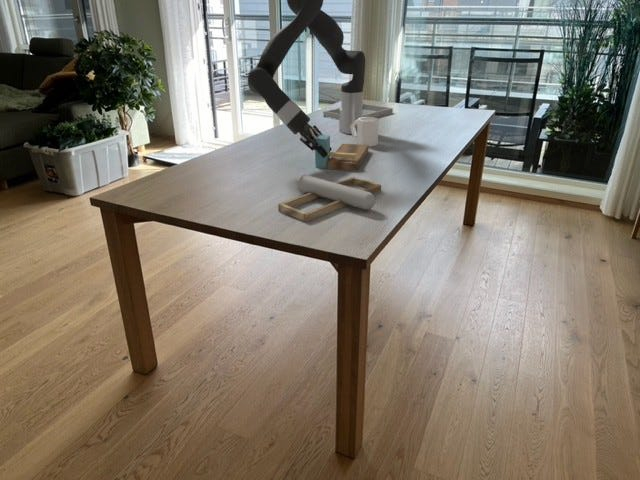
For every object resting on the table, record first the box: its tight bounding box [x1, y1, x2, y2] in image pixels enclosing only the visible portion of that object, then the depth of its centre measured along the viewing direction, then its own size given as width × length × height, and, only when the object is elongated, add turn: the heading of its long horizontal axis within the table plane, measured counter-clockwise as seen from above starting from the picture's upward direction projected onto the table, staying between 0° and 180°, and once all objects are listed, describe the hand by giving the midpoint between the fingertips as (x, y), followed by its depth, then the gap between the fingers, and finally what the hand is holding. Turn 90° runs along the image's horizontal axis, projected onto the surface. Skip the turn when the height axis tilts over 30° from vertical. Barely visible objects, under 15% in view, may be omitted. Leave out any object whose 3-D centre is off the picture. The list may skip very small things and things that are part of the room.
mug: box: [350, 117, 380, 147], centre depth 190 cm, size 12×9×10 cm
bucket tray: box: [322, 103, 394, 120], centre depth 241 cm, size 21×29×2 cm
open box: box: [326, 143, 369, 172], centre depth 172 cm, size 10×24×3 cm, turn 165°
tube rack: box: [277, 176, 382, 223], centre depth 136 cm, size 11×31×2 cm, turn 135°
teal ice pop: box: [314, 134, 356, 169], centre depth 163 cm, size 14×5×10 cm, turn 75°
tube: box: [297, 173, 376, 211], centre depth 134 cm, size 5×5×25 cm
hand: (327, 153), depth 164 cm, fingers closed on teal ice pop, 5 cm apart
